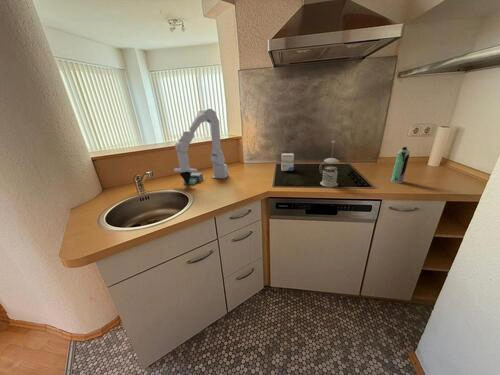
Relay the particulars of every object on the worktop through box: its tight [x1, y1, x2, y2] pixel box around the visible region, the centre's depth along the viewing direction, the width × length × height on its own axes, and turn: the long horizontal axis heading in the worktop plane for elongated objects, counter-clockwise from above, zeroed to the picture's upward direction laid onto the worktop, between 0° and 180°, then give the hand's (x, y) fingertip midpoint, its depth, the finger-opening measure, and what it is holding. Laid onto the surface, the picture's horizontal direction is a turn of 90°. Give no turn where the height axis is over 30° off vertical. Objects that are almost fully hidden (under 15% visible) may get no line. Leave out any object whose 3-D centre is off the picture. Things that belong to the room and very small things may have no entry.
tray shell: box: [182, 178, 199, 186], centre depth 130 cm, size 7×6×2 cm
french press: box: [319, 140, 340, 188], centre depth 115 cm, size 10×12×25 cm
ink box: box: [280, 153, 295, 172], centre depth 145 cm, size 8×5×12 cm, turn 84°
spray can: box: [390, 146, 411, 184], centre depth 114 cm, size 6×6×20 cm
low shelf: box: [190, 172, 204, 183], centre depth 133 cm, size 10×5×4 cm, turn 77°
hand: (187, 183), depth 126 cm, fingers closed, pressing on tray shell
